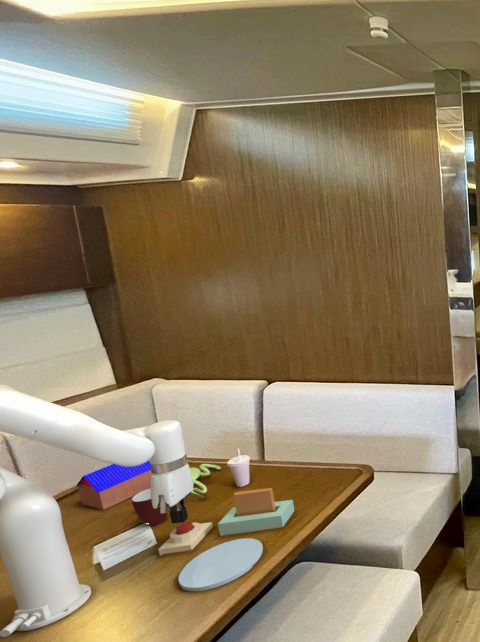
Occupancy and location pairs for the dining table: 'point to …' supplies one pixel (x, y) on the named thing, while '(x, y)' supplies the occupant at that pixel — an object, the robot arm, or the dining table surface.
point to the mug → (147, 508)
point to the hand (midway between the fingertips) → (179, 521)
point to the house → (114, 484)
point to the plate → (220, 564)
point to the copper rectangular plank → (254, 502)
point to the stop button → (184, 528)
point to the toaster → (256, 519)
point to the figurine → (197, 473)
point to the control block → (185, 539)
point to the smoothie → (240, 469)
